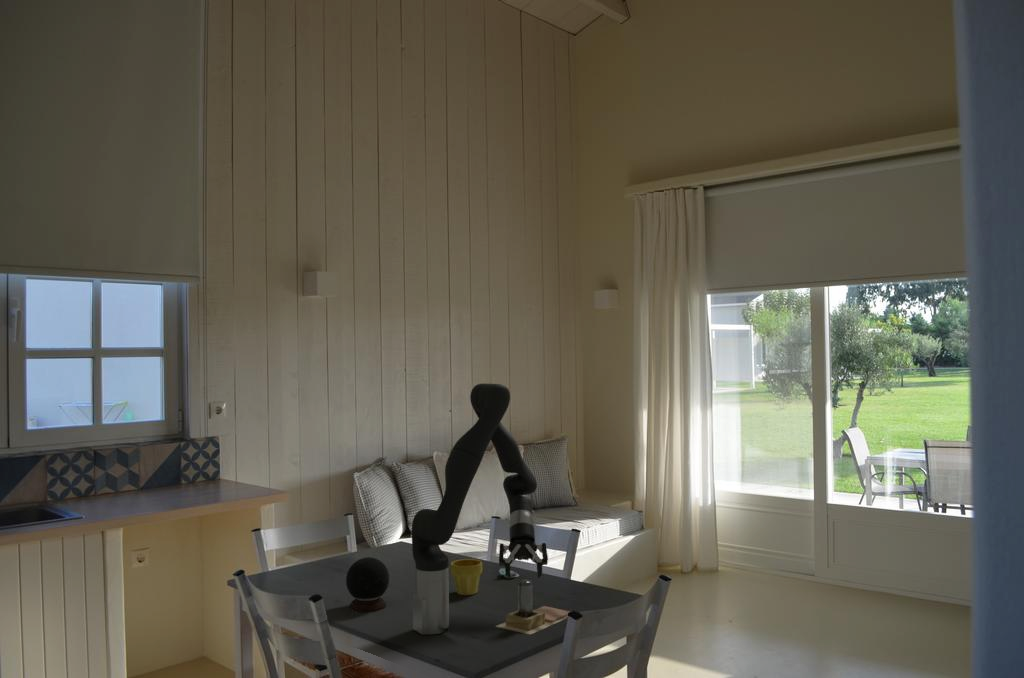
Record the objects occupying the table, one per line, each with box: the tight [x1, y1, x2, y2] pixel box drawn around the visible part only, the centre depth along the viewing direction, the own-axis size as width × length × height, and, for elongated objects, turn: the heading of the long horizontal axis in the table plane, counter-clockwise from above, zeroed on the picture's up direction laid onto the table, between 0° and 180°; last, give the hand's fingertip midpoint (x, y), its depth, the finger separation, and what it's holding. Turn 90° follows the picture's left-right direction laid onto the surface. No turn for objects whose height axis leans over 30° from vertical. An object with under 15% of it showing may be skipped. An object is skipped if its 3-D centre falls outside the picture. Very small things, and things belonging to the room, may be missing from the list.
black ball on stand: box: [345, 556, 390, 613], centre depth 249 cm, size 13×13×15 cm
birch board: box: [495, 605, 571, 635], centre depth 230 cm, size 23×12×4 cm, turn 142°
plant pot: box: [450, 558, 483, 596], centre depth 263 cm, size 10×10×10 cm
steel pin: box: [517, 579, 533, 618], centre depth 225 cm, size 4×4×12 cm
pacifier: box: [499, 567, 520, 579], centre depth 284 cm, size 7×6×6 cm
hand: (524, 576), depth 231 cm, fingers open, 8 cm apart
